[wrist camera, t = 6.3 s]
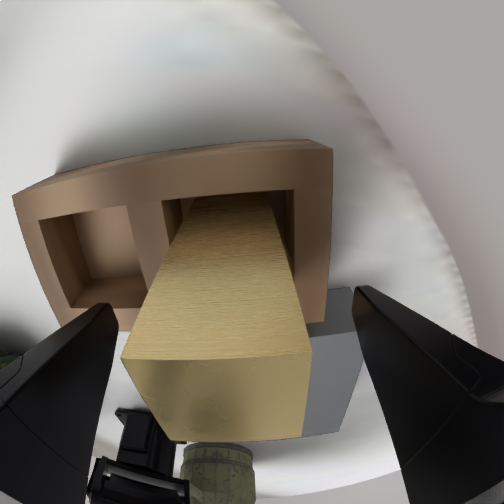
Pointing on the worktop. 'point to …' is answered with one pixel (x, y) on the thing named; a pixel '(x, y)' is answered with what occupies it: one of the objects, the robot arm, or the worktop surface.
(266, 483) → the worktop surface
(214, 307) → the block
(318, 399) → the socket block
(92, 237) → the walnut rack
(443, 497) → the robot arm
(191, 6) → the worktop surface
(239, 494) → the olive carved statue
